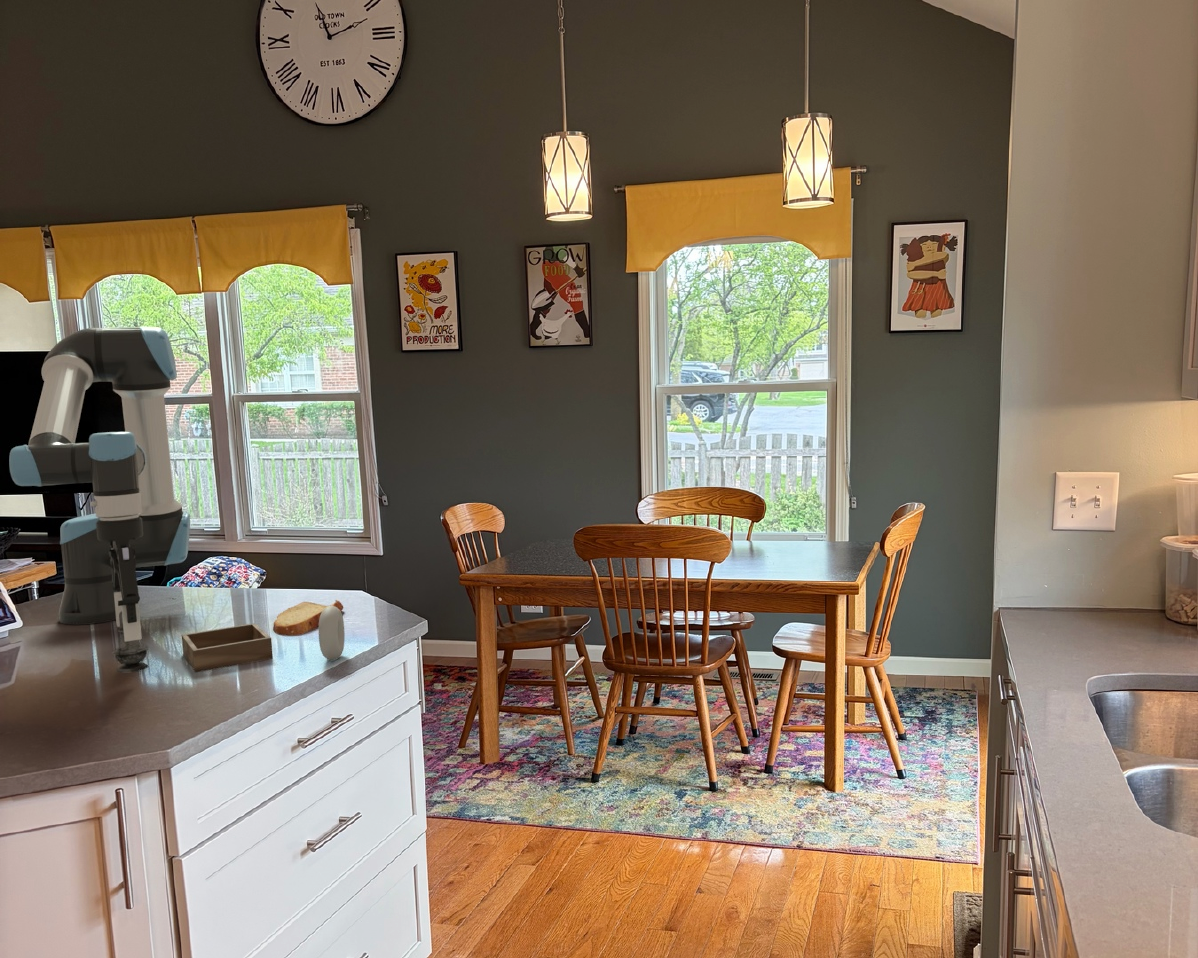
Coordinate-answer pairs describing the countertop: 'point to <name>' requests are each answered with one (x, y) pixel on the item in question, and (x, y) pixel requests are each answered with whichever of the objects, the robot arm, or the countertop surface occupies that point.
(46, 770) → the countertop surface
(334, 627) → the donut
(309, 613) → the slice of bread
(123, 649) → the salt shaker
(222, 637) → the box
